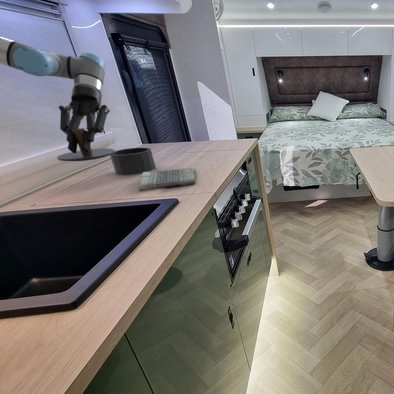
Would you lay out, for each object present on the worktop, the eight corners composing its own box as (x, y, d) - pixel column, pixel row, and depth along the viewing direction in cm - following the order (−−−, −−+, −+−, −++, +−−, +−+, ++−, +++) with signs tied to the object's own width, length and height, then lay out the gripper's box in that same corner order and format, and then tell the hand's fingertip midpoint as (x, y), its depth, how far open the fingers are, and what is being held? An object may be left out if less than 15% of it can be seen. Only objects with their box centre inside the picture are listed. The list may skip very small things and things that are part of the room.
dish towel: (197, 184, 105) (195, 176, 104) (138, 193, 97) (135, 184, 96) (196, 171, 120) (194, 163, 119) (145, 177, 113) (143, 169, 111)
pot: (108, 176, 114) (101, 155, 111) (128, 167, 127) (122, 148, 123) (145, 175, 116) (139, 154, 113) (161, 165, 128) (156, 146, 125)
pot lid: (45, 163, 88) (32, 133, 85) (80, 152, 102) (70, 126, 98) (97, 162, 90) (87, 132, 87) (125, 151, 103) (117, 125, 100)
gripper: (119, 99, 105) (114, 154, 97) (66, 100, 101) (56, 158, 93) (108, 84, 99) (102, 142, 90) (51, 84, 94) (38, 145, 86)
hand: (78, 150), depth 91 cm, fingers closed on pot lid, 3 cm apart
